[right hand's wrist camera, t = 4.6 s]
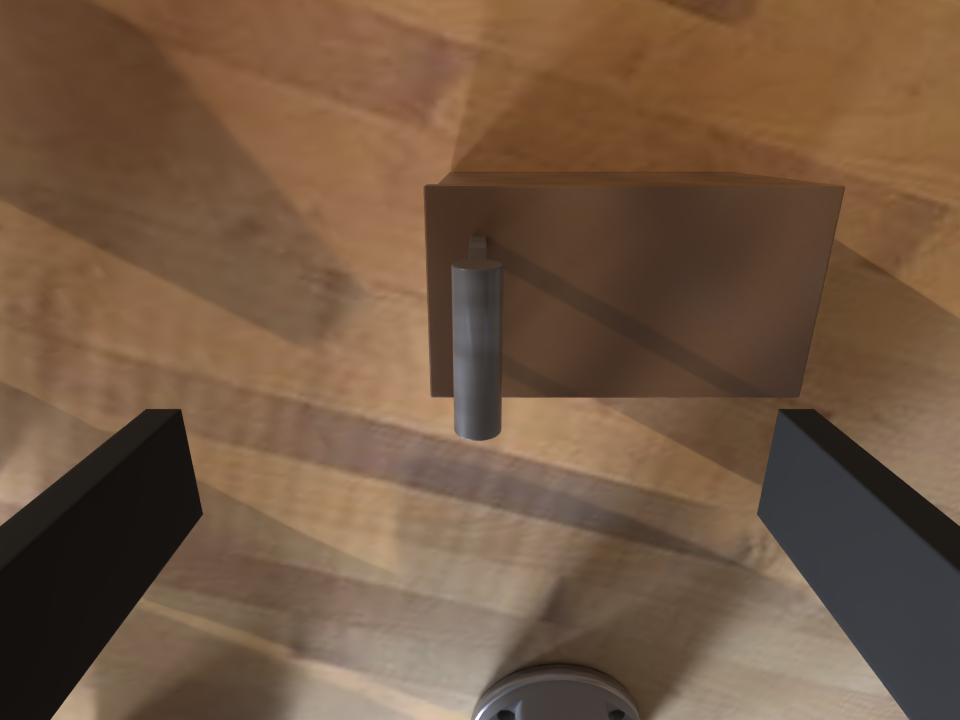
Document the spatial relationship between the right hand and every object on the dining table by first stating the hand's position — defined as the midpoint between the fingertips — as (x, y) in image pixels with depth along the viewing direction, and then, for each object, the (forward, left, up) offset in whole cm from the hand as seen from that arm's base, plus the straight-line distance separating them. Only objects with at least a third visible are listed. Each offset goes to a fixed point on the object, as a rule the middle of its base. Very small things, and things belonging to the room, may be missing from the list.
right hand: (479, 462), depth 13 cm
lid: (+4, -5, -15) cm, 16 cm away
